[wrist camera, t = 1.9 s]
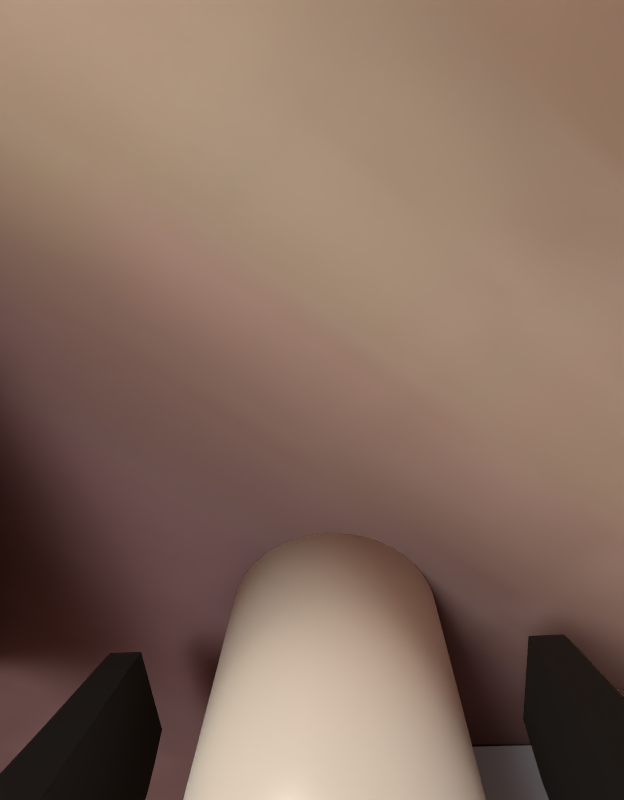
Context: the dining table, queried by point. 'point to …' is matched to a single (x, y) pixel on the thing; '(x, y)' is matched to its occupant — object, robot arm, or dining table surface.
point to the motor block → (509, 773)
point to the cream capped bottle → (334, 684)
